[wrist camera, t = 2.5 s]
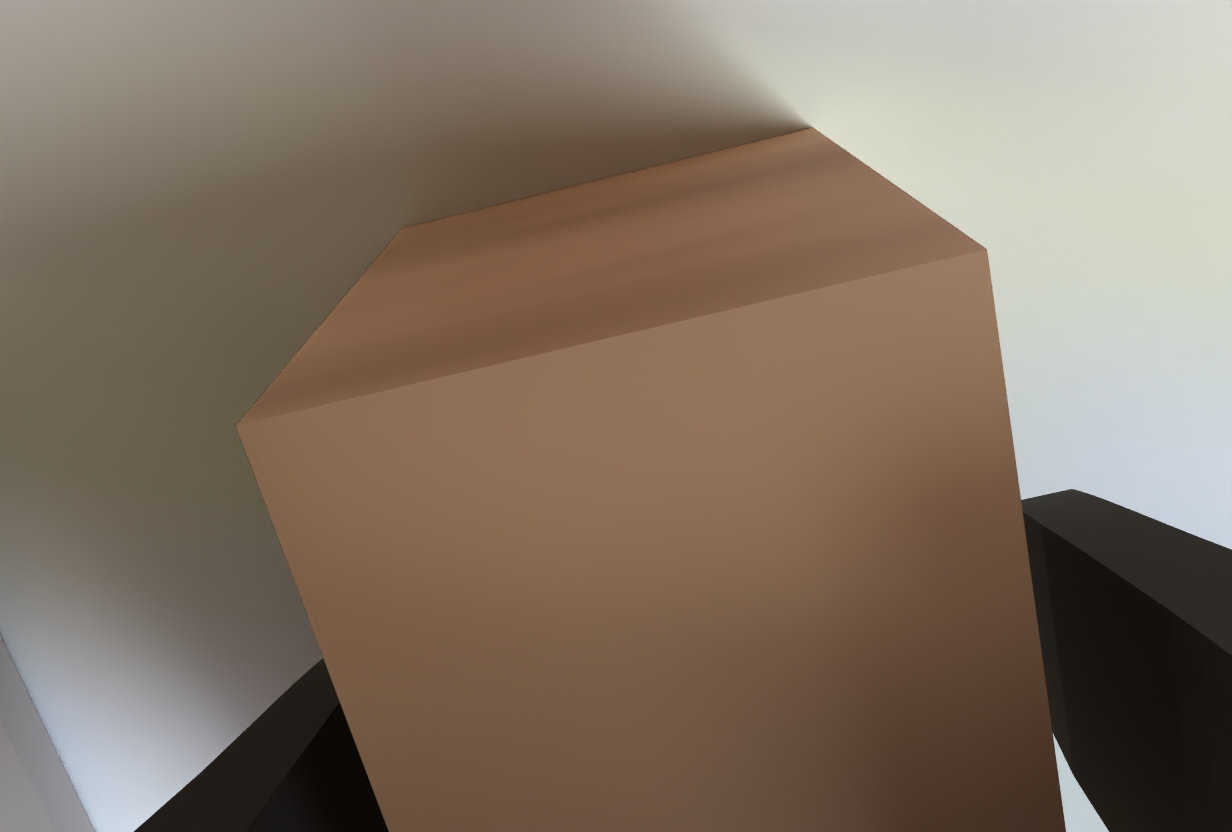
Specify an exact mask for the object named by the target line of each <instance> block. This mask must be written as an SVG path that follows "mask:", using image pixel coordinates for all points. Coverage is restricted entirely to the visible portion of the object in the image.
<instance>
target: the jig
mask: <svg viewBox="0 0 1232 832" xmlns="http://www.w3.org/2000/svg"><path fill="white" fill-rule="evenodd" d="M0 832H95V830H94V828H93V826H92V824H91V821H90V819H89V817H88V815H87V813H86V811H85V809H84V807H83V805H82V803H81V801H80V799H79V797H78V795H77V792H76V790H75V788H74V786H73V784H72V782H71V780H70V778H69V776H68V774H67V772H66V770H65V768H64V766H63V763H62V761H61V759H60V757H59V755H58V753H57V751H56V749H55V747H54V745H53V743H52V741H51V739H50V737H49V734H48V732H47V730H46V728H45V726H44V724H43V722H42V720H41V718H40V716H39V714H38V712H37V710H36V708H35V705H34V703H33V701H32V699H31V697H30V695H29V693H28V691H27V689H26V687H25V685H24V683H23V681H22V679H21V676H20V674H19V672H18V670H17V668H16V666H15V664H14V662H13V660H12V658H11V656H10V654H9V652H8V650H7V647H6V645H5V643H4V641H3V639H2V637H1V635H0Z"/></svg>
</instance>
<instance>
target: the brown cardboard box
mask: <svg viewBox="0 0 1232 832" xmlns="http://www.w3.org/2000/svg"><path fill="white" fill-rule="evenodd" d="M236 428H237V431H238V433H239V436H240V439H241V441H242V444H243V446H244V449H245V452H246V454H247V457H248V460H249V462H250V465H251V468H252V470H253V473H254V476H255V478H256V481H257V484H258V486H259V489H260V492H261V494H262V497H263V500H264V502H265V505H266V507H267V510H268V513H269V515H270V518H271V521H272V523H273V526H274V529H275V531H276V534H277V537H278V539H279V542H280V545H281V547H282V550H283V553H284V555H285V558H286V560H287V563H288V566H289V568H290V571H291V574H292V576H293V579H294V582H295V584H296V587H297V590H298V592H299V595H300V598H301V600H302V603H303V606H304V608H305V611H306V614H307V616H308V619H309V621H310V624H311V627H312V629H313V632H314V635H315V637H316V640H317V643H318V645H319V648H320V651H321V653H322V656H323V659H324V661H325V664H326V667H327V669H328V672H329V675H330V677H331V680H332V682H333V685H334V688H335V690H336V693H337V696H338V698H339V701H340V704H341V706H342V709H343V712H344V714H345V717H346V720H347V722H348V725H349V728H350V730H351V733H352V735H353V738H354V741H355V743H356V746H357V749H358V751H359V754H360V757H361V759H362V762H363V765H364V767H365V770H366V773H367V775H368V778H369V781H370V783H371V786H372V789H373V791H374V794H375V796H376V799H377V802H378V804H379V807H380V810H381V812H382V815H383V818H384V820H385V823H386V826H387V828H388V831H389V832H1066V829H1065V821H1064V814H1063V807H1062V799H1061V792H1060V785H1059V777H1058V770H1057V763H1056V755H1055V748H1054V740H1053V733H1052V726H1051V718H1050V711H1049V704H1048V696H1047V689H1046V681H1045V674H1044V667H1043V659H1042V652H1041V645H1040V637H1039V630H1038V623H1037V615H1036V608H1035V600H1034V593H1033V586H1032V578H1031V571H1030V564H1029V556H1028V549H1027V541H1026V534H1025V527H1024V519H1023V512H1022V505H1021V497H1020V490H1019V483H1018V475H1017V468H1016V460H1015V453H1014V446H1013V438H1012V431H1011V424H1010V416H1009V409H1008V401H1007V394H1006V387H1005V379H1004V372H1003V365H1002V357H1001V350H1000V343H999V335H998V328H997V320H996V313H995V306H994V298H993V291H992V284H991V276H990V269H989V261H988V254H987V249H986V248H984V247H983V246H981V245H980V244H979V243H977V242H976V241H974V240H973V239H971V238H970V237H969V236H967V235H966V234H964V233H963V232H961V231H960V230H959V229H957V228H956V227H954V226H953V225H951V224H950V223H949V222H947V221H946V220H944V219H943V218H941V217H940V216H939V215H937V214H936V213H934V212H933V211H931V210H930V209H929V208H927V207H926V206H924V205H923V204H921V203H920V202H919V201H917V200H916V199H914V198H913V197H911V196H910V195H909V194H907V193H906V192H904V191H903V190H901V189H900V188H899V187H897V186H896V185H894V184H893V183H891V182H890V181H889V180H887V179H886V178H884V177H883V176H881V175H880V174H879V173H877V172H876V171H874V170H873V169H871V168H870V167H869V166H867V165H866V164H864V163H863V162H861V161H860V160H859V159H857V158H856V157H854V156H853V155H851V154H850V153H849V152H847V151H846V150H844V149H843V148H841V147H840V146H839V145H837V144H836V143H834V142H833V141H831V140H830V139H829V138H827V137H826V136H824V135H823V134H821V133H820V132H819V131H817V130H816V129H814V128H809V129H805V130H801V131H797V132H793V133H789V134H785V135H781V136H777V137H773V138H769V139H764V140H760V141H756V142H752V143H748V144H744V145H740V146H736V147H732V148H728V149H724V150H720V151H715V152H711V153H707V154H703V155H699V156H695V157H691V158H687V159H683V160H679V161H675V162H671V163H667V164H662V165H658V166H654V167H650V168H646V169H642V170H638V171H634V172H630V173H626V174H622V175H618V176H613V177H609V178H605V179H601V180H597V181H593V182H589V183H585V184H581V185H577V186H573V187H569V188H565V189H560V190H556V191H552V192H548V193H544V194H540V195H536V196H532V197H528V198H524V199H520V200H516V201H512V202H507V203H503V204H499V205H495V206H491V207H487V208H483V209H479V210H475V211H471V212H467V213H463V214H458V215H454V216H450V217H446V218H442V219H438V220H434V221H430V222H426V223H422V224H418V225H414V226H410V227H405V228H402V229H401V230H400V231H399V232H398V233H397V235H396V236H395V237H394V238H393V239H392V241H391V242H390V243H389V244H388V245H387V247H386V248H385V249H384V250H383V251H382V252H381V254H380V255H379V256H378V257H377V258H376V260H375V261H374V262H373V263H372V264H371V266H370V267H369V268H368V269H367V270H366V271H365V273H364V274H363V275H362V276H361V277H360V279H359V280H358V281H357V282H356V283H355V285H354V286H353V287H352V288H351V289H350V290H349V292H348V293H347V294H346V295H345V296H344V298H343V299H342V300H341V301H340V302H339V304H338V305H337V306H336V307H335V308H334V309H333V311H332V312H331V313H330V314H329V315H328V317H327V318H326V319H325V320H324V321H323V323H322V324H321V325H320V326H319V327H318V328H317V330H316V331H315V332H314V333H313V334H312V336H311V337H310V338H309V339H308V340H307V342H306V343H305V344H304V345H303V346H302V347H301V349H300V350H299V351H298V352H297V353H296V355H295V356H294V357H293V358H292V359H291V361H290V362H289V363H288V364H287V365H286V366H285V368H284V369H283V370H282V371H281V372H280V374H279V375H278V376H277V377H276V378H275V380H274V381H273V382H272V383H271V384H270V385H269V387H268V388H267V389H266V390H265V391H264V393H263V394H262V395H261V396H260V397H259V399H258V400H257V401H256V402H255V403H254V404H253V406H252V407H251V408H250V409H249V410H248V412H247V413H246V414H245V415H244V416H243V418H242V419H241V420H240V421H239V422H238V423H237V425H236Z"/></svg>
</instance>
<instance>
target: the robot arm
mask: <svg viewBox="0 0 1232 832" xmlns="http://www.w3.org/2000/svg"><path fill="white" fill-rule="evenodd" d="M1021 505H1022V512H1023V519H1024V527H1025V534H1026V541H1027V549H1028V556H1029V564H1030V571H1031V578H1032V586H1033V593H1034V600H1035V608H1036V615H1037V623H1038V630H1039V637H1040V645H1041V652H1042V659H1043V667H1044V674H1045V681H1046V689H1047V696H1048V704H1049V711H1050V718H1051V726H1052V732H1053V734H1054V736H1055V738H1056V740H1057V742H1058V744H1059V746H1060V748H1061V750H1062V752H1063V755H1064V757H1065V759H1066V761H1067V763H1068V765H1069V767H1070V769H1071V771H1072V773H1073V775H1074V777H1075V778H1076V780H1077V782H1078V783H1079V785H1080V786H1081V788H1082V790H1083V791H1084V793H1085V794H1086V796H1087V798H1088V799H1089V801H1090V802H1091V804H1092V805H1093V807H1094V809H1095V810H1096V812H1097V813H1098V815H1099V816H1100V818H1101V820H1102V821H1103V823H1104V824H1105V826H1106V827H1107V829H1108V830H1109V832H1232V550H1231V549H1228V548H1226V547H1223V546H1221V545H1218V544H1215V543H1213V542H1210V541H1208V540H1205V539H1202V538H1200V537H1197V536H1195V535H1192V534H1190V533H1187V532H1185V531H1182V530H1180V529H1177V528H1175V527H1172V526H1170V525H1167V524H1165V523H1162V522H1160V521H1157V520H1155V519H1152V518H1150V517H1147V516H1145V515H1142V514H1140V513H1137V512H1135V511H1132V510H1130V509H1127V508H1125V507H1122V506H1120V505H1117V504H1115V503H1112V502H1109V501H1107V500H1104V499H1101V498H1099V497H1096V496H1093V495H1090V494H1087V493H1084V492H1081V491H1077V490H1074V489H1070V490H1065V491H1061V492H1056V493H1052V494H1047V495H1042V496H1038V497H1033V498H1029V499H1024V500H1021ZM134 832H389V831H388V828H387V826H386V823H385V820H384V818H383V815H382V812H381V810H380V807H379V804H378V802H377V799H376V796H375V794H374V791H373V789H372V786H371V783H370V781H369V778H368V775H367V773H366V770H365V767H364V765H363V762H362V759H361V757H360V754H359V751H358V749H357V746H356V743H355V741H354V738H353V735H352V733H351V730H350V728H349V725H348V722H347V720H346V717H345V714H344V712H343V709H342V706H341V704H340V701H339V698H338V696H337V693H336V690H335V688H334V685H333V682H332V680H331V677H330V675H329V672H328V669H327V667H326V664H325V661H324V659H322V660H321V661H319V662H318V663H317V664H316V665H315V666H313V667H312V668H311V669H310V670H309V671H308V672H307V673H305V674H304V675H303V676H302V677H301V678H300V679H299V680H298V681H297V682H296V683H294V684H293V685H292V686H291V687H290V688H289V689H288V690H287V691H286V692H285V693H284V694H283V695H282V696H281V697H280V698H279V699H278V700H276V701H275V702H274V703H273V704H272V705H271V706H270V707H269V708H268V709H267V710H266V711H265V712H264V713H263V714H262V715H261V716H260V717H259V718H258V719H257V720H256V721H255V722H254V723H252V724H251V725H250V726H249V727H248V728H247V729H246V730H245V731H244V732H243V733H242V734H241V735H240V736H239V737H238V738H237V739H236V740H235V741H234V742H233V743H231V744H230V745H229V746H228V747H227V748H226V749H225V750H224V751H223V752H222V753H221V754H220V755H219V756H218V757H217V758H216V759H215V760H214V761H213V762H211V763H210V764H209V765H208V766H207V767H206V768H205V769H204V770H203V771H202V772H201V773H200V774H199V775H197V776H196V777H195V778H194V779H193V780H192V781H191V782H190V783H188V784H187V785H186V786H185V787H184V788H183V789H182V790H180V791H179V792H178V793H177V794H176V795H175V796H174V797H173V798H171V799H170V800H169V801H168V802H167V803H166V804H165V805H163V806H162V807H161V808H160V809H159V810H158V811H157V812H156V813H154V814H153V815H152V816H151V817H150V818H149V819H148V820H146V821H145V822H144V823H143V824H142V825H141V826H140V827H139V828H137V829H136V830H135V831H134Z"/></svg>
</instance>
